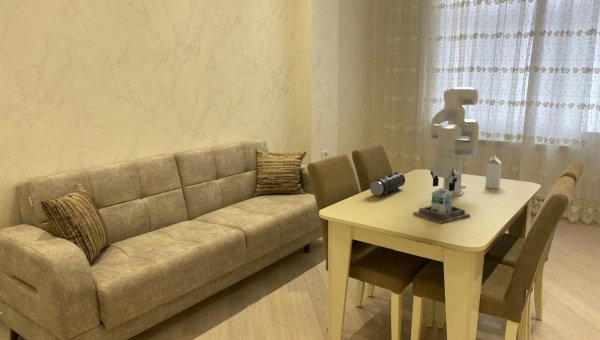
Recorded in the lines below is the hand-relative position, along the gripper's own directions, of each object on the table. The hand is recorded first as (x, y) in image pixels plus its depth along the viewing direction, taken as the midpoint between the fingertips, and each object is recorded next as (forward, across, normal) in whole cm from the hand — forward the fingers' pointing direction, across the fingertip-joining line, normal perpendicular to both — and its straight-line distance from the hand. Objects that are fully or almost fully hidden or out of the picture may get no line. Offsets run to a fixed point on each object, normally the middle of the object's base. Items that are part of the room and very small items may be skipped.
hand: (443, 188), depth 208 cm
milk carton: (+16, -22, +70) cm, 75 cm away
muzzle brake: (+15, -46, +7) cm, 49 cm away
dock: (+14, 0, -1) cm, 14 cm away
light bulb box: (+12, 0, 0) cm, 12 cm away
